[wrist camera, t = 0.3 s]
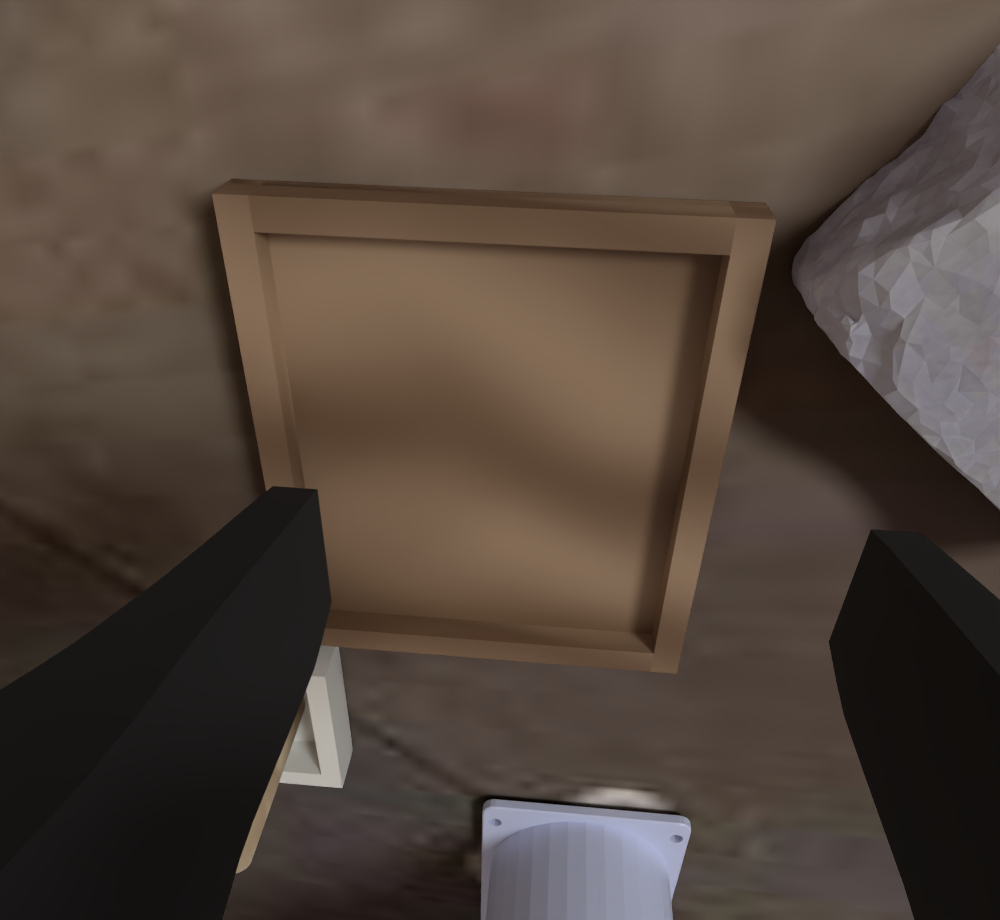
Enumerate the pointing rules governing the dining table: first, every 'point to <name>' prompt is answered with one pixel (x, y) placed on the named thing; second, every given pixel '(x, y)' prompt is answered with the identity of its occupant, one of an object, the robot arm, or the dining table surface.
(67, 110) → the dining table surface
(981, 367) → the stone block
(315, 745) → the holder
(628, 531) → the tray
